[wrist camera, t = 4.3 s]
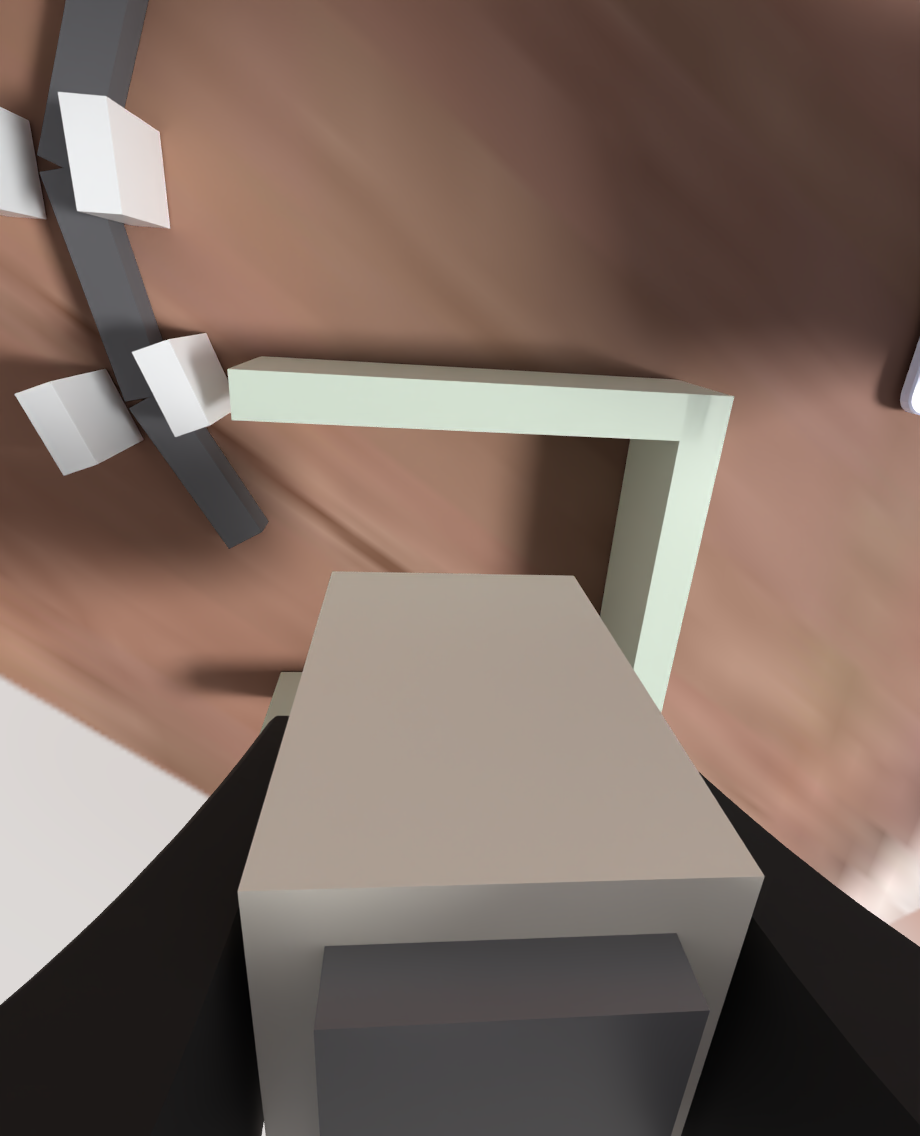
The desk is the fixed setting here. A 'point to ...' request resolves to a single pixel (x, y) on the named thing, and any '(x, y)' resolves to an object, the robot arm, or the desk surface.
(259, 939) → the block
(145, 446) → the desk surface
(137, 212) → the clips
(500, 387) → the holder
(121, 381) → the cable
